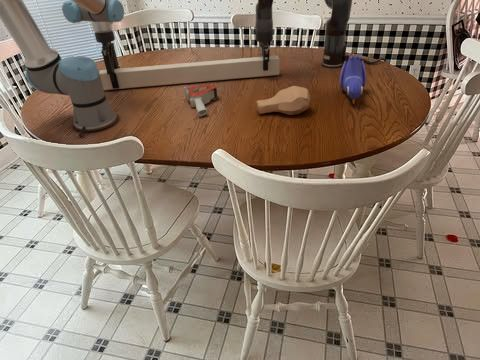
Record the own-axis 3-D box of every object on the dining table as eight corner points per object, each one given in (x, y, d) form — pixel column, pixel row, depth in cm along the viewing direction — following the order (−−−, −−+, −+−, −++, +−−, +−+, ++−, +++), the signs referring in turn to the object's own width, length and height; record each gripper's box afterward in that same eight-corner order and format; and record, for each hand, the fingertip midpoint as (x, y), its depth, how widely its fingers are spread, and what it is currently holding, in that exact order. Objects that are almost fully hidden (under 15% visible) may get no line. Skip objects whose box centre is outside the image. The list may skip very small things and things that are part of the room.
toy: (338, 94, 152) (340, 108, 129) (340, 53, 145) (343, 60, 123) (362, 94, 149) (368, 108, 127) (365, 52, 143) (373, 58, 120)
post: (102, 90, 158) (97, 74, 153) (104, 86, 162) (100, 70, 157) (279, 74, 162) (279, 58, 157) (277, 71, 166) (277, 55, 161)
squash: (314, 116, 128) (313, 95, 122) (259, 125, 130) (256, 105, 124) (308, 99, 136) (307, 78, 129) (257, 108, 138) (253, 88, 131)
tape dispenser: (202, 122, 132) (232, 99, 144) (201, 109, 128) (231, 87, 141) (166, 111, 139) (197, 89, 152) (164, 98, 136) (196, 78, 148)
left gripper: (108, 35, 139) (122, 92, 152) (117, 25, 154) (129, 78, 167) (88, 36, 139) (104, 93, 152) (99, 26, 154) (113, 79, 167)
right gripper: (275, 32, 146) (275, 73, 156) (270, 24, 158) (270, 62, 168) (257, 33, 146) (258, 74, 156) (253, 25, 157) (254, 64, 167)
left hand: (117, 85), depth 160 cm, fingers closed on post, 5 cm apart
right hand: (264, 68), depth 162 cm, fingers closed on post, 5 cm apart
